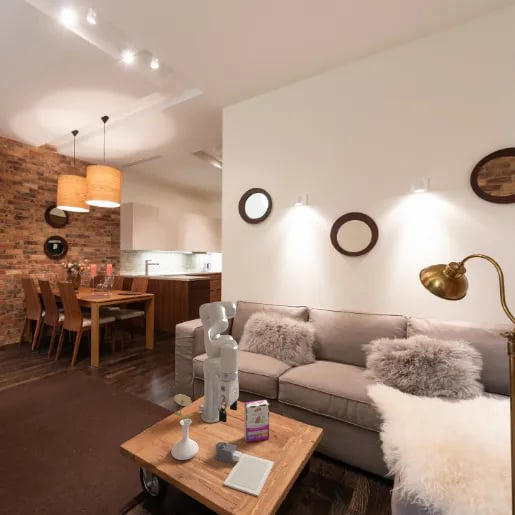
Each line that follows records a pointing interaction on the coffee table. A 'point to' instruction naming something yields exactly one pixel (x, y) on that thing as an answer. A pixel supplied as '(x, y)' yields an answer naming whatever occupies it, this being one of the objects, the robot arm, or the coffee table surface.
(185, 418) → the flower in vase
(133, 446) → the coffee table surface
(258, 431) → the candy bar box
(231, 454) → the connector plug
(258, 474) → the white rectangular tray
